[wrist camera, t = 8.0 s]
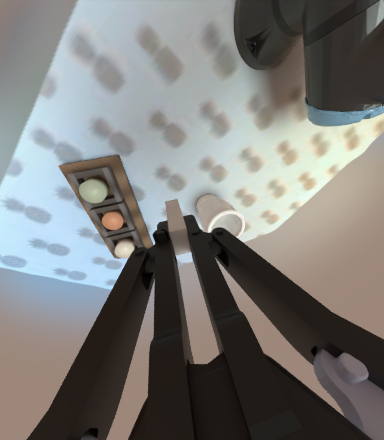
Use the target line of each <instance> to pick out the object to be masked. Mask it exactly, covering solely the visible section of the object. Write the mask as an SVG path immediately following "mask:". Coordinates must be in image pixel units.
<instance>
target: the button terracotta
mask: <svg viewBox="0 0 384 440" xmlns="http://www.w3.org/2000/svg"><path fill="white" fill-rule="evenodd" d="M124 219H125V218H124V216H123V214H122V212H121V211H120V210H118V209H115V210H111V211H107V212H106V213H105V215H104V216H103V218H102V224H103V226H104V227H106V228H107V229H110V230H117V229H119V228H121V227H122V225H123V222H124Z"/></svg>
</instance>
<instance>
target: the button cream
mask: <svg viewBox="0 0 384 440" xmlns="http://www.w3.org/2000/svg"><path fill="white" fill-rule="evenodd" d="M134 247H135V243H134V242H133V241H132V240H131V239H126V238H125V239H121V240H119V241H118V243H117V245H116V248H115V254H116V255H117V256H118V257H120V258H129V257H130V255H131V253H132V252H133V251H134Z"/></svg>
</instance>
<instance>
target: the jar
mask: <svg viewBox="0 0 384 440" xmlns="http://www.w3.org/2000/svg"><path fill="white" fill-rule="evenodd" d="M196 209H197V212H198V215H199V219H200V222H201V225H202V227H203V228H204V230H205V231H206V232H212V230H213V229H214V228H217V227H221V228H225V229H226V230H228V231H229V232H230V233H231V234H233V235H234V236H235V237H236V238H239V237H240V235H241V234H242V232H243V231H244V228H245V219H244V217H243V215H242V214H241V213H240V212H238V211H236V210H235V209H234V208H233V206H232V205H230V204H229V203H228V202H226V201H224V200H222V199H220V198H217V197H216V196H214V195H211V194H208V195H204V196H203V197H201V198H200V199H199V201H198V202H197V206H196Z"/></svg>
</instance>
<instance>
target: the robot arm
mask: <svg viewBox="0 0 384 440" xmlns="http://www.w3.org/2000/svg"><path fill="white" fill-rule="evenodd" d="M234 29H235V38H236V43H237V46H238V49H239V52H240V54H241V56H242V58H243V59H244V61H245V62H246V63H247V64H248V65H249V66H250V67H252V68H254V69H257V70H264V69H268V68H270V67H272V66H274V65H275V64H277V63H278V62H280V61H281V60H282V59H283V58H285V57H286V56H287V54H288V53H289V52H290V51H291V49H292V48H293V47H294V46H295V44H296V43H297V42H298V41H299V40H300V38H301V37H302V36H303V39H304V66H305V89H306V97H305V104H306V106H307V115H308V119H309V121H311V122H312V123H313V124H315V125H318V126H341V125H347V124H352V123H356V122H360V121H361V120H362V119H370V118H373V117H375V116H378V115H380V114H382V113H384V0H237V2H236V7H235V17H234ZM165 203H166V212H167V221H163V222H159V224H158V225H157V230H156V231H155V232H154V233H153V238H154V240H155V245H153V246H152V247H150V248H148V249H147V248H146V247H139V248H136V249H135V250H134V251H133V252H132V253H131V255H130V257H129V258H128V260H127V262H126V264H125V266H124V268H123V270H122V272H121V274H120V275H119V277H118V279H117V281H116V283H115V285H114V287H113V289H112V291H111V293H110V294H109V297H108V298H107V300H106V302H105V304H104V306H103V308H102V310H101V312H100V313H99V315H98V317H97V319H96V321H95V323H94V325H93V327H92V329H91V330H90V332H89V334H88V336H87V338H86V340H85V342H84V344H83V345H82V347H81V349H80V351H79V353H78V355H77V357H76V359H75V361H74V363H73V364H72V366H71V368H70V370H69V372H68V374H67V376H66V378H65V379H64V381H63V383H62V385H61V387H60V389H59V391H58V393H57V395H56V397H55V398H54V400H53V402H52V404H51V406H50V408H49V410H48V411H47V412H46V414H45V415H44V417H43V418H42V420H41V421H40V422H39V424H38V425H37V427H36V428H35V429H34V431H33V432H32V433H31V435H30V436H29V437H28V439H27V440H106V438H107V436H108V433H109V431H110V428H111V425H112V423H113V420H114V418H115V415H116V412H117V408H118V405H119V402H120V399H121V396H122V392H123V389H124V385H125V381H126V378H127V374H128V371H129V367H130V364H131V360H132V357H133V353H134V350H135V346H136V342H137V339H138V335H139V332H140V328H141V325H142V321H143V318H144V314H145V310H146V307H147V303H148V300H149V296H150V293H151V289H152V285H153V282H154V279H155V300H154V338H153V340H152V341H151V344H150V352H149V379H148V381H149V382H148V397H147V399H146V401H145V403H144V405H143V407H142V409H141V411H140V413H139V415H138V418H137V420H136V422H135V425H134V427H133V429H132V432H131V434H130V436H129V438H128V440H384V339H382V338H380V337H378V336H376V335H374V334H372V333H370V332H368V331H367V330H365V329H363V328H361V327H359V326H357V325H355V324H353V323H351V322H349V321H348V320H346V319H344V318H342V317H340V316H338V315H336V314H334V313H333V312H331V311H330V310H329V309H327V308H326V307H325V306H324V305H322V304H321V303H320V302H318V301H317V300H316V299H315V298H313V297H312V296H311V295H309V294H308V293H307V292H306V291H304V290H303V289H302V288H300V287H299V286H298V285H296V284H295V283H294V282H293V281H291V280H290V279H289V278H288V277H286V276H285V275H284V274H282V273H281V272H280V271H279V270H277V269H276V268H275V267H273V266H272V265H271V264H270V263H268V262H267V261H266V260H265V259H263V258H262V257H261V256H259V255H258V254H257V253H256V252H254V251H253V250H252V249H251V248H249V247H248V246H247V245H245V244H244V243H243V242H242V241H240V240H239V239H238V238H236V237H235V236H234V235H233V234H231V233H230V232H229V231H228V230H226V229H225V228H221V227H217V228H214V229H213V230H212V232H203V231H202V230H201V229H200V228H199V226H198V224H197V222H196V220H195V217H194V216H193V215H187V216H183V215H182V212H181V209H180V206H179V203H178V200H177V199H175V200H170V201H166V202H165ZM188 252H191V253H192V258H193V261H194V264H195V268H196V271H197V274H198V278H199V281H200V285H201V288H202V292H203V296H204V299H205V303H206V306H207V309H208V312H209V316H210V320H211V323H212V327H213V330H214V334H215V337H216V341H217V345H218V349H219V353H220V354H219V355H218V356H217V357H216V358H214V359H213V360H212V361H211V362H209V363H208V364H194V361H193V356H192V352H191V347H190V340H189V334H188V328H187V322H186V315H185V309H184V303H183V297H182V290H181V284H180V277H179V271H178V265H177V259H176V256H175V255H180V254H184V253H188ZM215 258H216V259H217V260H218V261H219V262H220V264H221V265H222V266H223V267H224V268H225V269H226V271H228V273H229V274H230V275H231V276H232V277H233V279H234V280H235V281H236V282H237V283H238V284H239V285H240V287H241V288H242V289H243V290H244V291H245V292H246V293H247V295H248V296H249V297H250V298H251V299H252V300H253V302H254V303H255V304H256V305H257V306H258V307H259V309H260V310H261V311H262V312H263V313H264V314H265V315H266V317H267V318H268V319H269V320H270V321H271V322H272V323H273V325H274V326H275V327H276V328H277V329H278V330H279V331H280V333H281V334H282V335H283V336H284V337H285V338H286V340H287V341H288V342H289V343H290V344H291V345H292V346H293V347H294V348H295V349H296V350H297V351H298V352H299V353H300V354H301V355H302V356H303V357H304V358H305V359H306V360H307V361H309V362H310V363H311V364H312V365H313V366H314V371H315V374H316V376H317V379H318V381H319V382H320V384H321V385H322V387H323V388H324V389H325V390H326V391H327V392H328V393H329V394H330V395H331V396H332V397H333V399H334V400H335V401H336V402H337V404H338V405H339V407H340V408H341V410H342V412H343V413H344V416H345V417H344V416H343V415H341V414H340V413H339V412H338V411H336V410H335V409H334V408H333V407H332V406H330V405H329V404H328V403H327V402H325V401H324V400H323V399H322V398H321V397H319V396H318V395H317V394H316V393H314V392H313V391H312V390H311V389H309V388H308V387H307V386H306V385H304V384H303V383H302V382H301V381H300V380H298V379H297V378H296V377H294V376H293V375H292V374H291V373H290V372H288V371H287V370H286V369H285V368H283V367H282V366H281V365H280V364H279V363H277V362H276V361H275V360H273V359H272V358H271V357H269V356H267V355H266V354H264V353H263V351H262V349H261V347H260V344H259V343H258V340H257V338H256V336H255V334H254V332H253V330H252V328H251V326H250V324H249V322H248V320H247V318H246V316H245V315H244V313H243V312H241V311H240V310H239V308H238V306H237V304H236V302H235V300H234V298H233V295H232V293H231V291H230V289H229V287H228V285H227V283H226V281H225V279H224V276H223V274H222V272H221V270H220V268H219V266H218V263H217V261H216V259H215Z"/></svg>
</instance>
